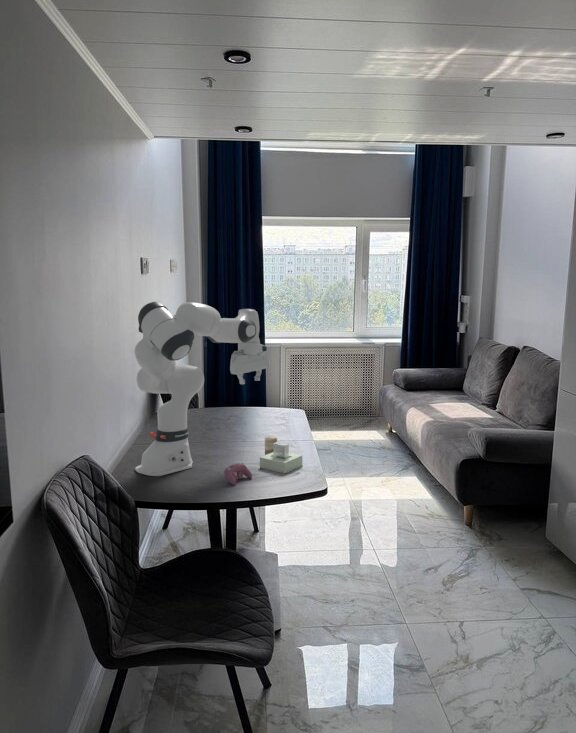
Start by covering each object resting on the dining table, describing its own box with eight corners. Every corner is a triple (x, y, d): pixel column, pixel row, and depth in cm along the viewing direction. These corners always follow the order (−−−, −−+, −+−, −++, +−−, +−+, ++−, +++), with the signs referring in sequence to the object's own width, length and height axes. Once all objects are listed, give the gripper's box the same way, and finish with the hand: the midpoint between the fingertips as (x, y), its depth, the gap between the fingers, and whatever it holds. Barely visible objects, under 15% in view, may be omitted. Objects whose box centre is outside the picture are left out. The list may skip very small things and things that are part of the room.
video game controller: (246, 480, 215) (239, 462, 216) (254, 477, 212) (247, 458, 213) (226, 488, 207) (220, 469, 208) (235, 485, 204) (228, 465, 205)
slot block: (285, 473, 217) (284, 462, 217) (259, 467, 224) (259, 457, 224) (302, 465, 226) (302, 455, 225) (277, 460, 233) (277, 450, 232)
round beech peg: (272, 460, 233) (271, 440, 231) (262, 458, 236) (262, 438, 234) (280, 457, 237) (279, 438, 235) (270, 455, 240) (269, 436, 238)
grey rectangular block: (284, 468, 222) (284, 445, 221) (273, 466, 226) (273, 443, 224) (288, 467, 224) (288, 444, 223) (277, 464, 228) (277, 441, 226)
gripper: (237, 352, 229) (238, 387, 231) (270, 346, 245) (271, 379, 247) (225, 351, 233) (226, 385, 235) (258, 345, 249) (259, 378, 251)
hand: (249, 382), depth 241 cm, fingers open, 8 cm apart
